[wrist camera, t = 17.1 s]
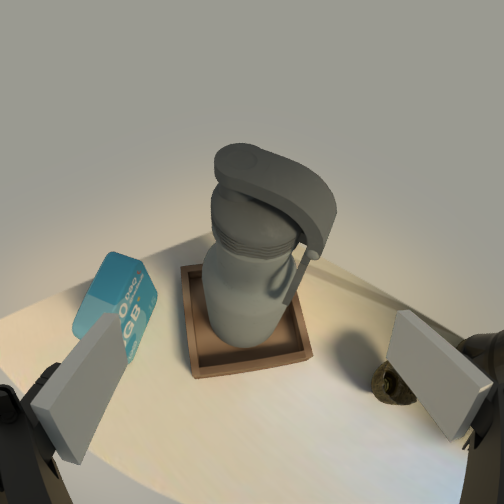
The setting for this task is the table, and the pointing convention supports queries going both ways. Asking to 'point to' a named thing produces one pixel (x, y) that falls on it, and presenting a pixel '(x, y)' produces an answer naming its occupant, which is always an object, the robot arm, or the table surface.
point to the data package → (119, 299)
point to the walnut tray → (234, 358)
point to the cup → (391, 386)
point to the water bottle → (260, 239)
